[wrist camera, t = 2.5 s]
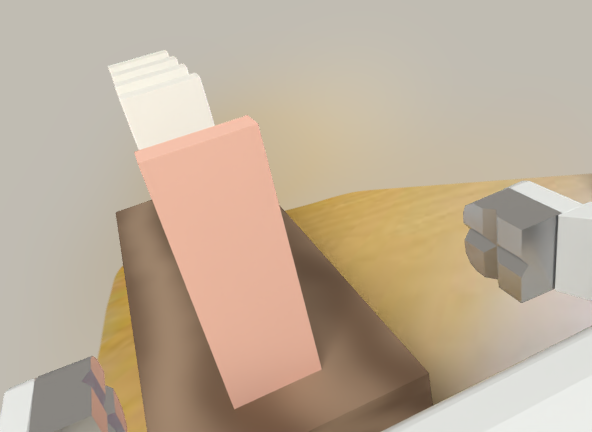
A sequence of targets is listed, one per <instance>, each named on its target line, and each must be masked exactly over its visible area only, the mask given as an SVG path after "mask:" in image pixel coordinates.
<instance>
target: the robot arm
mask: <svg viewBox="0 0 592 432" xmlns="http://www.w3.org/2000/svg"><path fill="white" fill-rule="evenodd" d="M463 219H464V224H465V225H466V226H468V227H469V228H470V230H469V232H468V234H467V236H466V238H465V248H466V254H467V256H468V258H469V260H470V263H471V264H472V266H473V267H474V268H475V269H476V270H477V271H478V272H479V273H480V274H482V275H483V276H484V277H488V278H493V279H498V284H499V288H501V289H502V290H504V291H505V292H506V293H508V294H509V295H511V296H512V297H514V298H515V299H516V300H518V301H519V302H521V303H523V302H525V301H528V300H530V299H532V298H535V297H537V296H539V295H541V294H544V293H546V292H548V291H551V290H553V289H555V291H558V292H562V293H565V294H569V295H572V296H576V297H579V298H583V299H586V300H590V301H592V202H588V203H586V204H581V203H579V202H577V201H575V200H572V199H570V198H568V197H565V196H563V195H561V194H558V193H556V192H554V191H551V190H549V189H547V188H544V187H542V186H540V185H537V184H535V183H533V182H531V181H520V182H518V183H516V184H514V185H511V186H509V187H507V188H505V189H503V190H501V191H499V192H497V193H494V194H492V195H490V196H487V197H485V198H482V199H480V200H478V201H475V202H473V203H470V204H468V205H466V206H465V209H464V212H463ZM0 432H127V424H126V421H125V417H124V413H123V409H122V407H121V404H120V402H119V399H118V397H117V395H116V393H115V391H114V389H113V388H111V387H108V386H105V378H104V371H103V369H102V367H101V365H100V364H99V362H98V360H97V359H96V358H95V357H93V356H91V357H88V358H86V359H83V360H80V361H78V362H75V363H72V364H70V365H67V366H65V367H62V368H59V369H57V370H54V371H51V372H49V373H46V374H44V375H41V376H39V377H38V378H33V379H31V380H28V381H26V382H23V383H21V384H18V385H16V386H14V387H11V388H9V389H8V390H7V391H6V392H5V394H4V398H3V404H2V409H1V414H0ZM381 432H592V326H591V327H589V328H587V329H585V330H583V331H581V332H579V333H577V334H575V335H573V336H571V337H569V338H567V339H565V340H563V341H561V342H559V343H557V344H555V345H553V346H551V347H549V348H547V349H545V350H543V351H541V352H539V353H537V354H535V355H533V356H531V357H529V358H527V359H525V360H523V361H521V362H519V363H517V364H515V365H513V366H511V367H509V368H507V369H505V370H503V371H501V372H499V373H497V374H495V375H493V376H491V377H489V378H487V379H485V380H483V381H481V382H479V383H477V384H475V385H473V386H471V387H469V388H467V389H465V390H463V391H461V392H459V393H457V394H455V395H453V396H451V397H449V398H447V399H445V400H443V401H441V402H439V403H437V404H435V405H433V406H431V407H429V408H427V409H425V410H423V411H421V412H419V413H417V414H415V415H413V416H411V417H409V418H407V419H405V420H403V421H401V422H399V423H397V424H395V425H393V426H391V427H389V428H387V429H385V430H383V431H381Z"/></svg>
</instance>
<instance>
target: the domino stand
mask: <svg viewBox="0 0 592 432" xmlns="http://www.w3.org/2000/svg"><path fill="white" fill-rule="evenodd" d="M279 206H280V205H279ZM280 210H281V214H282V218H283V221H284V225H285V229H286V233H287V237H288V241H289V245H290V249H291V252H292V256H293V260H294V264H295V268H296V272H297V276H298V279H299V283H300V287H301V291H302V295H303V299H304V303H305V306H306V310H307V314H308V318H309V322H310V326H311V330H312V333H313V337H314V341H315V345H316V349H317V353H318V357H319V361H320V364H321V368H322V369H321V370H319V371H317V372H315V373H313V374H310V375H308V376H306V377H304V378H302V379H300V380H297V381H295V382H293V383H291V384H289V385H286V386H284V387H282V388H280V389H278V390H276V391H273V392H271V393H269V394H267V395H265V396H262V397H260V398H258V399H256V400H254V401H252V402H249V403H247V404H245V405H243V406H241V407H238V408H236V409H234V407H233V405H232V402H231V400H230V397H229V395H228V392H227V390H226V387H225V384H224V382H223V379H222V377H221V374H220V372H219V369H218V367H217V364H216V362H215V359H214V356H213V354H212V351H211V349H210V346H209V344H208V341H207V339H206V336H205V333H204V331H203V328H202V326H201V323H200V321H199V318H198V316H197V313H196V311H195V308H194V305H193V303H192V300H191V298H190V295H189V293H188V290H187V288H186V285H185V283H184V280H183V277H182V275H181V272H180V270H179V267H178V265H177V262H176V260H175V257H174V255H173V252H172V249H171V247H170V244H169V242H168V239H167V237H166V234H165V232H164V229H163V226H162V224H161V221H160V219H159V216H158V214H157V211H156V209H155V206H154V204H153V201H152V200H150V201H147V202H144V203H141V204H139V205H136V206H133V207H130V208H127V209H124V210H121V211H118V212H116V218H117V224H118V232H119V239H120V246H121V252H122V259H123V266H124V273H125V280H126V287H127V294H128V301H129V308H130V315H131V322H132V329H133V336H134V343H135V349H136V356H137V363H138V370H139V377H140V384H141V391H142V398H143V405H144V412H145V419H146V426H147V432H381V431H383V430H385V429H387V428H389V427H391V426H393V425H395V424H397V423H399V422H401V421H403V420H405V419H407V418H409V417H411V416H413V415H415V414H417V413H419V412H421V411H423V410H425V409H427V408H429V407H431V406H433V405H432V397H431V388H430V380H429V373H428V372H427V371H426V370H425V369H424V367H423V366H422V365H421V364H420V363H419V362H418V361H417V360H416V358H415V357H414V356H413V355H412V354H411V353H410V352H409V351H408V349H407V348H406V347H405V346H404V345H403V344H402V343H401V342H400V340H399V339H398V338H397V337H396V336H395V335H394V334H393V333H392V331H391V330H390V329H389V328H388V327H387V326H386V325H385V324H384V322H383V321H382V320H381V319H380V318H379V317H378V316H377V315H376V313H375V312H374V311H373V310H372V309H371V308H370V307H369V306H368V304H367V303H366V302H365V301H364V300H363V299H362V298H361V297H360V295H359V294H358V293H357V292H356V291H355V290H354V289H353V288H352V286H351V285H350V284H349V283H348V282H347V281H346V280H345V279H344V277H343V276H342V275H341V274H340V273H339V272H338V271H337V270H336V268H335V267H334V266H333V265H332V264H331V263H330V262H329V261H328V259H327V258H326V257H325V256H324V255H323V254H322V253H321V252H320V250H319V249H318V248H317V247H316V246H315V245H314V244H313V243H312V241H311V240H310V239H309V238H308V237H307V236H306V235H305V234H304V232H303V231H302V230H301V229H300V228H299V227H298V226H297V225H296V223H295V222H294V221H293V220H292V219H291V218H290V217H289V216H288V214H287V213H286V212H285V211H284V210H283V209H282V208H281V207H280Z"/></svg>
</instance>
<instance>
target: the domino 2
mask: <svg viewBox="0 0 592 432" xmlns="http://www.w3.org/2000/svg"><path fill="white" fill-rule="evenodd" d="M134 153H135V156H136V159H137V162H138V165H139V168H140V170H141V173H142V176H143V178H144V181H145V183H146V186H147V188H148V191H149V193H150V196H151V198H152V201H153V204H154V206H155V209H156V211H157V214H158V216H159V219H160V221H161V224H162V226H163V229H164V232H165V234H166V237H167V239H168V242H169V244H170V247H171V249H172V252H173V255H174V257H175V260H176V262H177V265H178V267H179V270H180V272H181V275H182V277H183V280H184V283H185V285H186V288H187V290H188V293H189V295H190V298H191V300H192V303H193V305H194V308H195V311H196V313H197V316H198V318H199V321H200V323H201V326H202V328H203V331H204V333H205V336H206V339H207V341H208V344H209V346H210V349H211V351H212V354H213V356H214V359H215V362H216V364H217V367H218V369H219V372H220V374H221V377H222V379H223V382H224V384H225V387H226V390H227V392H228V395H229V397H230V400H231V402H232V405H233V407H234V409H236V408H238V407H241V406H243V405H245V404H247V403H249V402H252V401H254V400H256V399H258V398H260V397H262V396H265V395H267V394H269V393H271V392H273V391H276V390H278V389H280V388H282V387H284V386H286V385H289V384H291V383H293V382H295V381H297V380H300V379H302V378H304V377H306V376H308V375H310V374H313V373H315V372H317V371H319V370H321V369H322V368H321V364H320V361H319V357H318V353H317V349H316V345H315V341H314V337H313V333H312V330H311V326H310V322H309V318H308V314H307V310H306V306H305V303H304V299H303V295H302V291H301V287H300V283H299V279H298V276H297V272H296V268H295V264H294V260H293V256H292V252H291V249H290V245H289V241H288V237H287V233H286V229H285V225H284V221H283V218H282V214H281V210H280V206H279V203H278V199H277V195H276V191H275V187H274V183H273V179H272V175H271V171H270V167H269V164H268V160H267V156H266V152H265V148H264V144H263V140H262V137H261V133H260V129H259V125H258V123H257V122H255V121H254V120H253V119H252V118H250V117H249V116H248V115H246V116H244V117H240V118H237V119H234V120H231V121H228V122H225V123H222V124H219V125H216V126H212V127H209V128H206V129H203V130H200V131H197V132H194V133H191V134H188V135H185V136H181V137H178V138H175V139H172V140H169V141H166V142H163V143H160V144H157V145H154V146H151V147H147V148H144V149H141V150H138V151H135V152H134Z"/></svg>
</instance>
